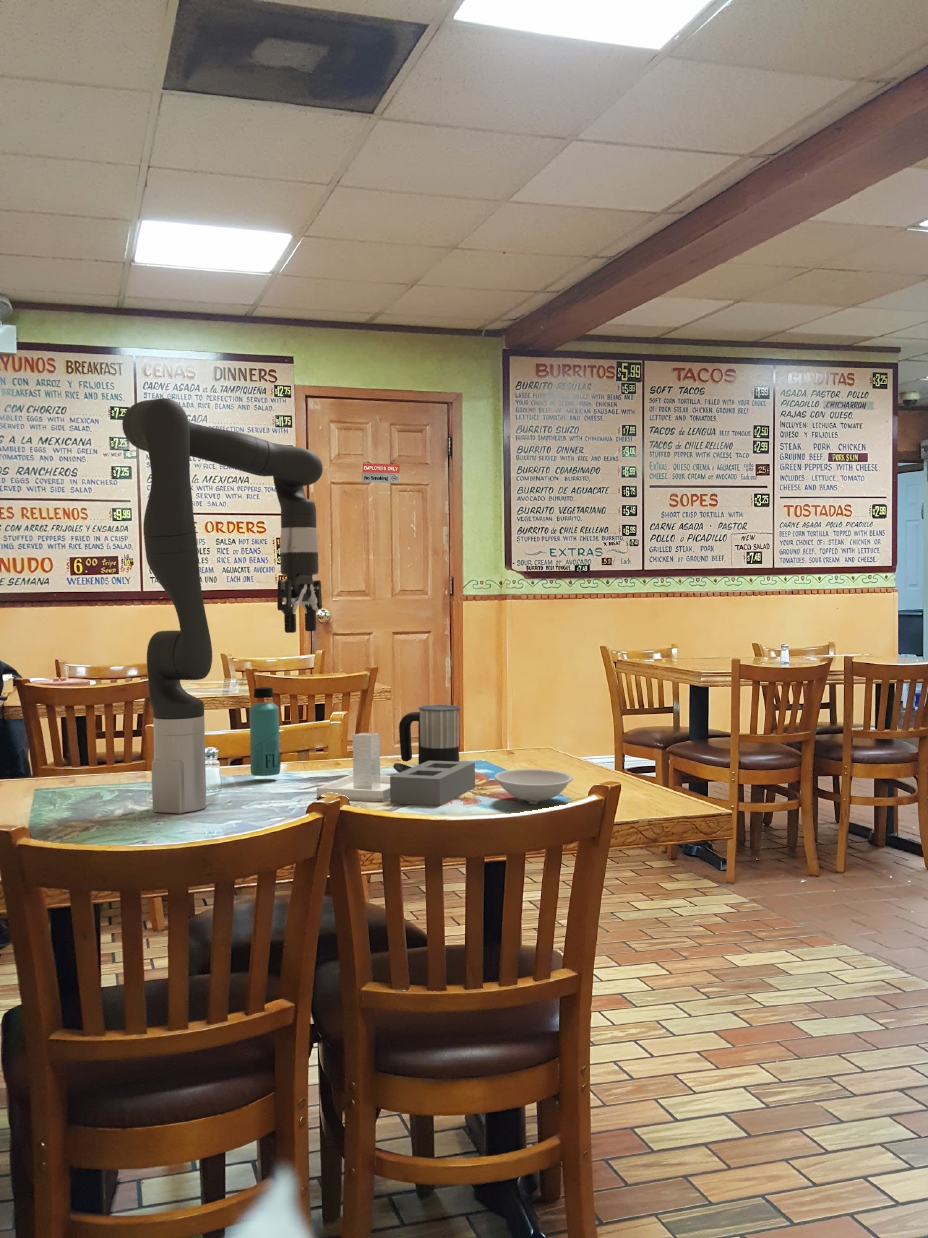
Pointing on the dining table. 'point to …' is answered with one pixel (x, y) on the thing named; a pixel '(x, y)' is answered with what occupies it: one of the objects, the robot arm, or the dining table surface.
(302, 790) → the dining table surface
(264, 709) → the beverage bottle
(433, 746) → the milk frother
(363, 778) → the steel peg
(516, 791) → the dish
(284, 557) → the robot arm
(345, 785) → the tray
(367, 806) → the dining table surface
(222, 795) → the dining table surface
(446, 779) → the slotted block
